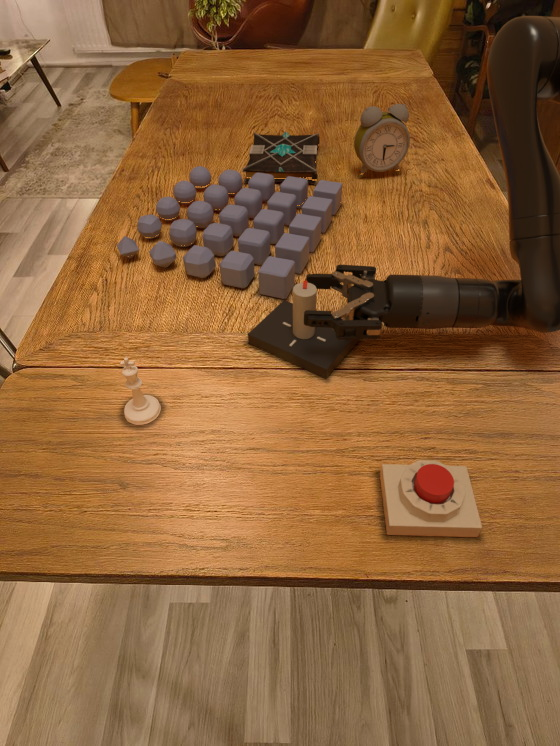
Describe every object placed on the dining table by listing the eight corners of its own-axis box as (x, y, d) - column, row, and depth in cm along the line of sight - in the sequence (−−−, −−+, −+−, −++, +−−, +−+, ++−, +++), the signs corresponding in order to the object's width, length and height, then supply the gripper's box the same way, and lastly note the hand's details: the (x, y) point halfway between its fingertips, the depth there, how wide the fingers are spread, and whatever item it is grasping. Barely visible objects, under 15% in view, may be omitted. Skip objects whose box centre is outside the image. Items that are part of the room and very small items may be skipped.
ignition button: (446, 472, 59) (450, 464, 57) (453, 504, 56) (457, 495, 55) (411, 472, 59) (414, 463, 58) (416, 503, 56) (419, 494, 55)
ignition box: (462, 475, 63) (470, 456, 60) (477, 537, 57) (487, 519, 54) (379, 474, 63) (383, 455, 60) (386, 535, 57) (391, 517, 55)
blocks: (285, 300, 87) (285, 276, 84) (112, 263, 96) (105, 240, 92) (341, 204, 110) (342, 182, 106) (196, 182, 119) (193, 160, 115)
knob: (314, 339, 77) (316, 295, 71) (292, 338, 77) (291, 294, 71) (315, 325, 80) (317, 280, 74) (293, 324, 80) (293, 280, 74)
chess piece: (129, 397, 72) (111, 345, 65) (164, 397, 72) (149, 345, 65) (120, 424, 69) (100, 372, 62) (157, 425, 69) (141, 373, 62)
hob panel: (358, 340, 80) (360, 329, 78) (326, 379, 74) (326, 368, 73) (284, 309, 86) (284, 299, 84) (248, 343, 80) (247, 333, 78)
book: (317, 186, 116) (317, 164, 113) (243, 184, 117) (241, 163, 114) (319, 147, 131) (320, 126, 128) (253, 146, 132) (252, 125, 129)
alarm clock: (357, 182, 117) (363, 112, 107) (348, 169, 122) (353, 101, 111) (405, 176, 119) (416, 107, 108) (395, 164, 124) (404, 96, 113)
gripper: (418, 251, 75) (306, 249, 76) (431, 313, 65) (303, 309, 66) (409, 292, 80) (305, 290, 81) (420, 356, 70) (302, 352, 71)
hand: (305, 299), depth 74 cm, fingers open, 8 cm apart
